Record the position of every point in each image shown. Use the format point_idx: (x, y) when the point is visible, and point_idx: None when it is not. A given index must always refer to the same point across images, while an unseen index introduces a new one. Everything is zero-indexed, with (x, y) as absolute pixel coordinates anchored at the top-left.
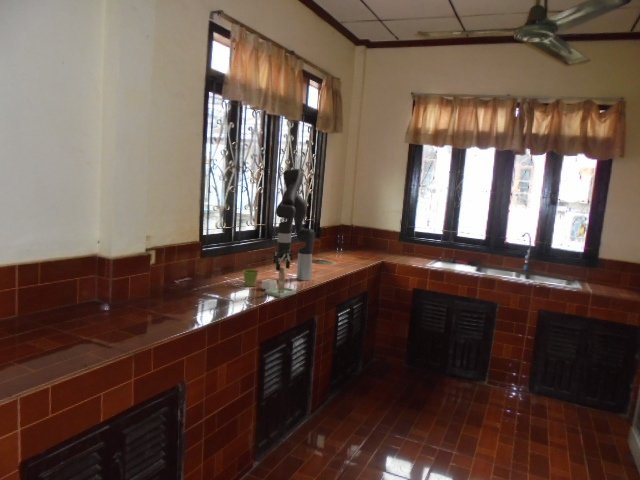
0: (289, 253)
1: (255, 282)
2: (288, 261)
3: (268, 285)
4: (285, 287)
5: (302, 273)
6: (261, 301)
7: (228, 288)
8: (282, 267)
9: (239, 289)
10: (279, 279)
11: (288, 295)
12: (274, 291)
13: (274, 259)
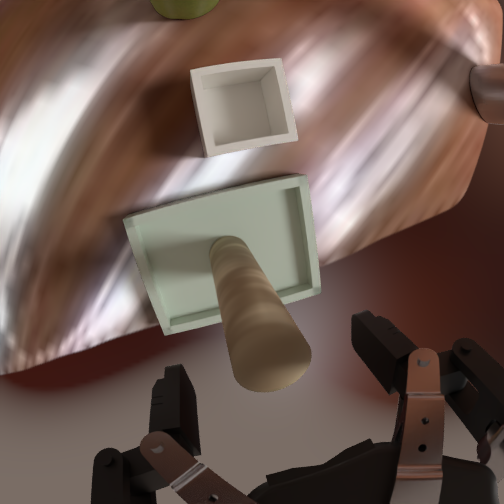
0: (479, 453)
1: (205, 6)
2: (400, 391)
3: (203, 144)
4: (306, 212)
5: (498, 103)
6: (54, 331)
7: (36, 31)
8: (293, 345)
9: (62, 60)
10: (217, 298)
11: None
12: (201, 220)
13: (103, 498)
